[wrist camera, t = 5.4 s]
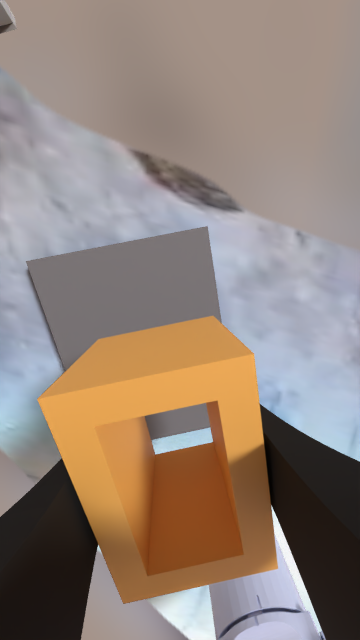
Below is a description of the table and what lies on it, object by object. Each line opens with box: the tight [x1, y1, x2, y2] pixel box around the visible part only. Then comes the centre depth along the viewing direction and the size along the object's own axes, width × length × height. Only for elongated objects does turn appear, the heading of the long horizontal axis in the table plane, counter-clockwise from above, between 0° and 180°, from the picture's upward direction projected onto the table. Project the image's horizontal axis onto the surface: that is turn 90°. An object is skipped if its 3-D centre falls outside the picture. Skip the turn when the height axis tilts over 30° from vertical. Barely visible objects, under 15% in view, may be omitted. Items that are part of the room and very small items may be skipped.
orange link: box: [37, 316, 278, 604], centre depth 9 cm, size 9×6×5 cm, turn 11°
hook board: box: [26, 226, 222, 440], centre depth 15 cm, size 18×14×6 cm
